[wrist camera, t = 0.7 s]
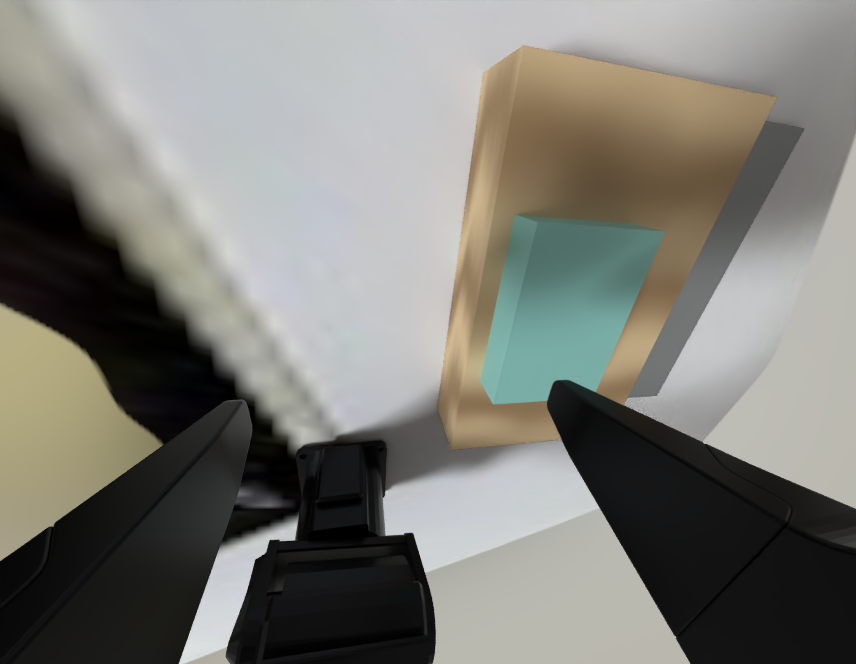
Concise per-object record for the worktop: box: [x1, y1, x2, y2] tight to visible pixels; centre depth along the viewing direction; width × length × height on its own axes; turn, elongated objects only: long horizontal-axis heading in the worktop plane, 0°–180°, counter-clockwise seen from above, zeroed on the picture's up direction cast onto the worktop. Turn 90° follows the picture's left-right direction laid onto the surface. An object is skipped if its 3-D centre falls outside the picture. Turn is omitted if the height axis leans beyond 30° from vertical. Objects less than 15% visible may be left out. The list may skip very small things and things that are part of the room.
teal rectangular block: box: [480, 215, 665, 404], centre depth 15 cm, size 9×6×2 cm, turn 174°
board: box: [437, 45, 777, 450], centre depth 18 cm, size 20×12×4 cm, turn 174°
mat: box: [628, 122, 804, 398], centre depth 22 cm, size 20×8×1 cm, turn 174°
